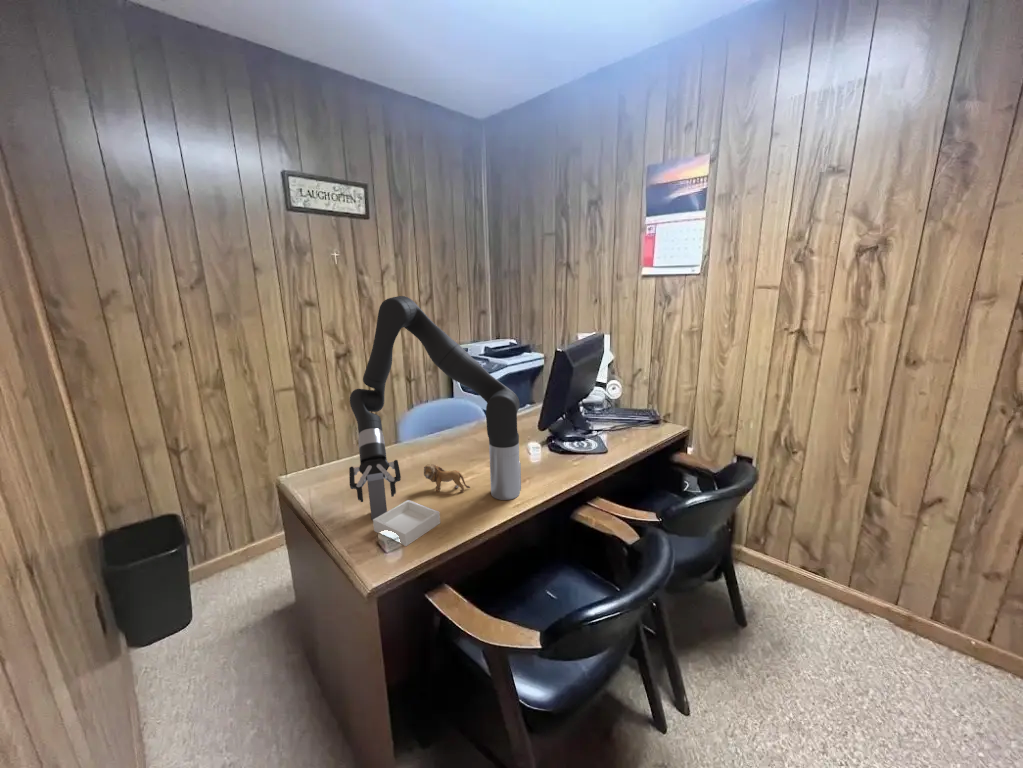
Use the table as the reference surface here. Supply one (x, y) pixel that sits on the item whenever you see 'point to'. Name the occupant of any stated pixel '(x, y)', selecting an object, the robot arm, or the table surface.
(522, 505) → the table surface
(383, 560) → the table surface
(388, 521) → the tray
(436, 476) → the lion figurine
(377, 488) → the handle block
